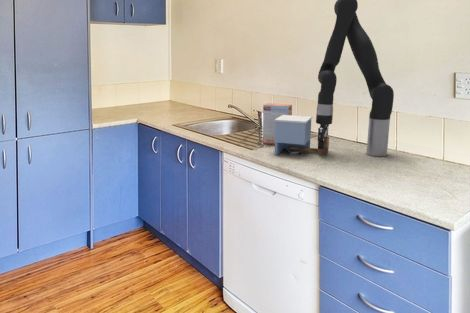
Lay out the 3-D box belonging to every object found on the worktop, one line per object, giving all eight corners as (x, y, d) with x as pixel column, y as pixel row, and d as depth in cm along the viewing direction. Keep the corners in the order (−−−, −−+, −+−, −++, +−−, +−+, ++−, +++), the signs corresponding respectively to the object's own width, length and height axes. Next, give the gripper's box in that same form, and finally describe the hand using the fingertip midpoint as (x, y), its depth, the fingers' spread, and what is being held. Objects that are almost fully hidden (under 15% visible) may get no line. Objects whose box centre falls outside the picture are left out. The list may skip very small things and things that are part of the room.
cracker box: (291, 144, 224) (292, 104, 219) (286, 146, 219) (288, 105, 214) (267, 141, 231) (268, 102, 226) (262, 143, 226) (262, 104, 221)
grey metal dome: (300, 153, 208) (300, 149, 208) (298, 155, 203) (298, 152, 203) (290, 152, 210) (290, 149, 209) (287, 154, 205) (287, 151, 205)
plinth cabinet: (310, 150, 212) (312, 116, 208) (304, 157, 198) (306, 121, 194) (281, 148, 217) (282, 114, 213) (273, 154, 204) (274, 119, 199)
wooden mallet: (328, 153, 207) (329, 136, 205) (326, 155, 203) (327, 138, 201) (289, 149, 213) (289, 133, 211) (286, 151, 209) (287, 135, 207)
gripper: (330, 116, 193) (327, 151, 197) (335, 111, 206) (332, 145, 210) (313, 115, 196) (311, 149, 200) (319, 110, 209) (317, 143, 213)
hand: (322, 147), depth 205 cm, fingers open, 8 cm apart
